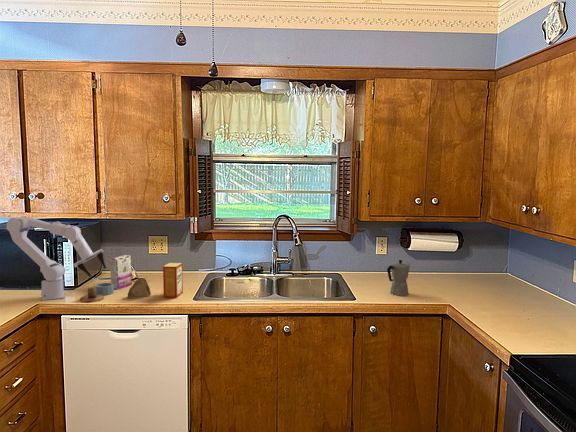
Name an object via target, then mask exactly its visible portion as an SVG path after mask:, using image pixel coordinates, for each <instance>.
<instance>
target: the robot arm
mask: <svg viewBox="0 0 576 432" xmlns="http://www.w3.org/2000/svg"><path fill="white" fill-rule="evenodd" d="M31 227H32V228H37V229H42V230H46V231H49V233H50V234H53V235H57V236H60V237H64V238H65V239H66V240H69V242H70V243H71V245H72V246H73V247H74V249H75V251H76V252H77V254H78V256H79V257H80V260H78V261H76V262H75V263H73V267H74V268H78V269H80V270H81V271H82V272H84V273H86V275H87V276H88V277H92V275H91V273H90V272H89V270H87V268H86V266H85V265H84V263H86V262H88V261H90V260H92V259H94V258H95V257H97V259H98V260H99V262H100V263H101V265H102V267H103V268H104V269H106V268H107V267H106V264H105V261H104V254H103V253H104V252H105V251H104V250H103V248H100V249H98V250H96V251H94V252H93V251H92V249H91V247H90V246H89V244H88V242H87V241H86V239H85V238H84V237H83V235H82V230H81V228H80V227H79V226H77V225H73V226H72V225H71V224H65V223H61V221H53V222H52V223H51V222H47V221H44V220H41V219H38V218H34V217H30V216H25V215H24V216H23V215H22V216H19V217H11V218H9V219H8V220H7V222H6V230H7V231H8V232H9V234H10V237H11V240H12V242H13V243H15V245H17V247H18V248H20V249H21V250H22V251H23V252H24V253H25V254H26V255H27V256H28V257H29V258H31V260H32V261H33V262H34V263H36V264H37V265H38V266H39V267H40V269H39V271H40V273H42V276H43V278H44V279H45V280H41V293H40V294H41V301H48V300H58V299H59V300H60V299H64V298H65V296H66V294H65V293H64V275H65V273H66V268H65V266H64V265H63V264H60V263H58V262H57V261H55V260H53V259H51V258H49V256H47V255H46V254H45V253H44V252H43V251H42V250H41V249H40V248H39V247H38V245H36V244H34V242H33V241H32V240H30V239H29V238H28V237H27V236H28V232H29V229H30V228H31Z"/></svg>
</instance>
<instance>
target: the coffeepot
mask: <svg viewBox="0 0 576 432" xmlns="http://www.w3.org/2000/svg"><path fill="white" fill-rule="evenodd" d="M402 262H403V260H401V259H399V260H398V263H393V264H391V265H389V266H388V267H387V268H386V272H387V276H388V280H389V282H392V283H391V287H390V290H389V291H390V292H389V293H390V294H391V295H392V294H393V296H395V295H396V297H407V296H409V288H408V282H407V280H408V278H409V271H410V267H411V264H410V265H409V264H407V263H402Z"/></svg>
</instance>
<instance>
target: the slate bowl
mask: <svg viewBox="0 0 576 432" xmlns="http://www.w3.org/2000/svg"><path fill="white" fill-rule="evenodd" d="M94 288H96V295H103V296H109V295H113V294H114V290H115V289H114V284H113V283H111V282H100V283H96V284H95V285H94Z"/></svg>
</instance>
